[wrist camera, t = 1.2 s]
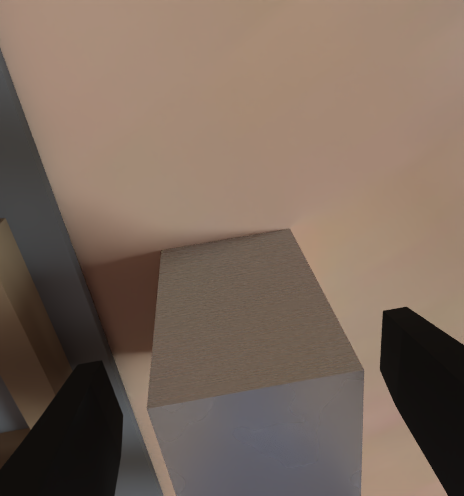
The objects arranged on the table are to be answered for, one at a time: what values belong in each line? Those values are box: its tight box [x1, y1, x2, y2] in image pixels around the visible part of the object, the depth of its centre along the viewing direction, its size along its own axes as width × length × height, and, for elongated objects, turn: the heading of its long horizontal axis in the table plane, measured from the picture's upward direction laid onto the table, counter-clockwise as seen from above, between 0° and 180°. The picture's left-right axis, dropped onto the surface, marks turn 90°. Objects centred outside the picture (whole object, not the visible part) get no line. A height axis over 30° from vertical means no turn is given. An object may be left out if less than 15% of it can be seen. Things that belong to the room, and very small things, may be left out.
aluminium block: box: [147, 229, 364, 496], centre depth 11 cm, size 4×4×6 cm
